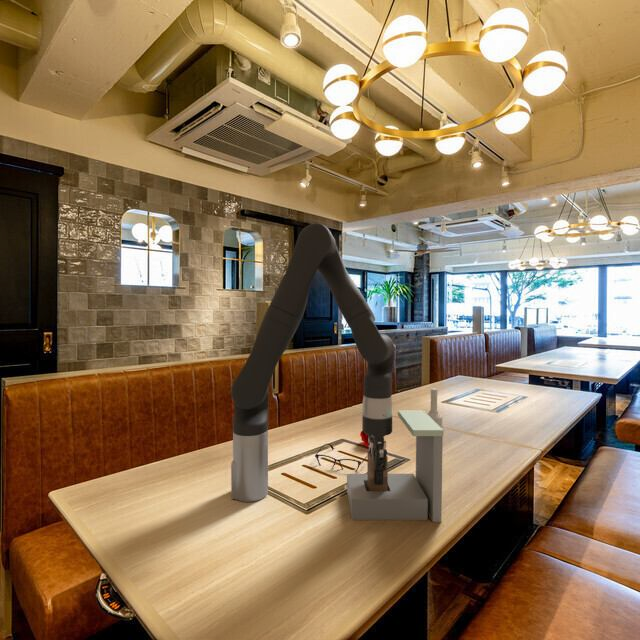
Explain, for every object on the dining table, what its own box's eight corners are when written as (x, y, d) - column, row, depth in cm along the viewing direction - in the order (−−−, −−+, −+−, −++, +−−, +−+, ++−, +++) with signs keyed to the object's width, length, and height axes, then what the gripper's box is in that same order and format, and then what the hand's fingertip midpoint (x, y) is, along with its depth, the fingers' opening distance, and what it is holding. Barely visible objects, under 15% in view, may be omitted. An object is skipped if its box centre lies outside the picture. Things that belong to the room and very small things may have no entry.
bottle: (428, 463, 126) (429, 386, 125) (444, 468, 123) (445, 388, 122) (421, 469, 122) (422, 389, 121) (437, 473, 119) (438, 391, 118)
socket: (351, 519, 93) (351, 499, 93) (346, 491, 107) (347, 473, 107) (427, 519, 93) (427, 499, 93) (412, 491, 107) (413, 473, 107)
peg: (387, 496, 98) (387, 457, 98) (369, 496, 98) (369, 457, 98) (384, 488, 102) (384, 450, 102) (367, 488, 102) (367, 450, 102)
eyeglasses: (312, 466, 125) (312, 454, 125) (329, 449, 140) (329, 438, 139) (362, 474, 119) (362, 461, 119) (375, 456, 134) (375, 444, 133)
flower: (387, 427, 147) (385, 433, 139) (378, 445, 148) (375, 452, 140) (368, 417, 149) (365, 422, 141) (360, 434, 149) (356, 441, 142)
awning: (412, 523, 92) (413, 430, 91) (397, 489, 109) (397, 410, 108) (442, 523, 92) (443, 430, 91) (422, 489, 109) (423, 410, 108)
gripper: (398, 421, 92) (397, 493, 93) (386, 406, 107) (386, 468, 107) (366, 422, 92) (365, 493, 93) (359, 406, 106) (359, 468, 107)
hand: (377, 479), depth 100 cm, fingers closed on peg, 4 cm apart
